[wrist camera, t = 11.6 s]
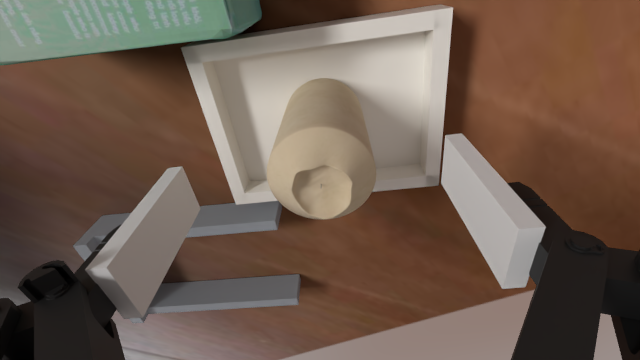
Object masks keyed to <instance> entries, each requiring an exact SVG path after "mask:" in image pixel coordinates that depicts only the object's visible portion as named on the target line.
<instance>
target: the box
mask: <svg viewBox="0 0 640 360" xmlns="http://www.w3.org/2000/svg"><path fill="white" fill-rule="evenodd" d="M261 17H262V11H261V7H260V2H259V0H0V65H9V64H17V63H25V62H33V61H41V60H49V59H57V58H65V57H73V56H81V55H89V54H97V53H105V52H113V51H121V50H129V49H137V48H145V47H153V46H161V45H168V44H176V43H184V42H192V41H200V40H208V39H226V38H230V37H232V36H234V35H236V34H238V33H241V32H243V31H244V30H246V29H248V28H249V27H250V26H252V25H253V24H254V23H256V22H257V21H260V20H261Z"/></svg>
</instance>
